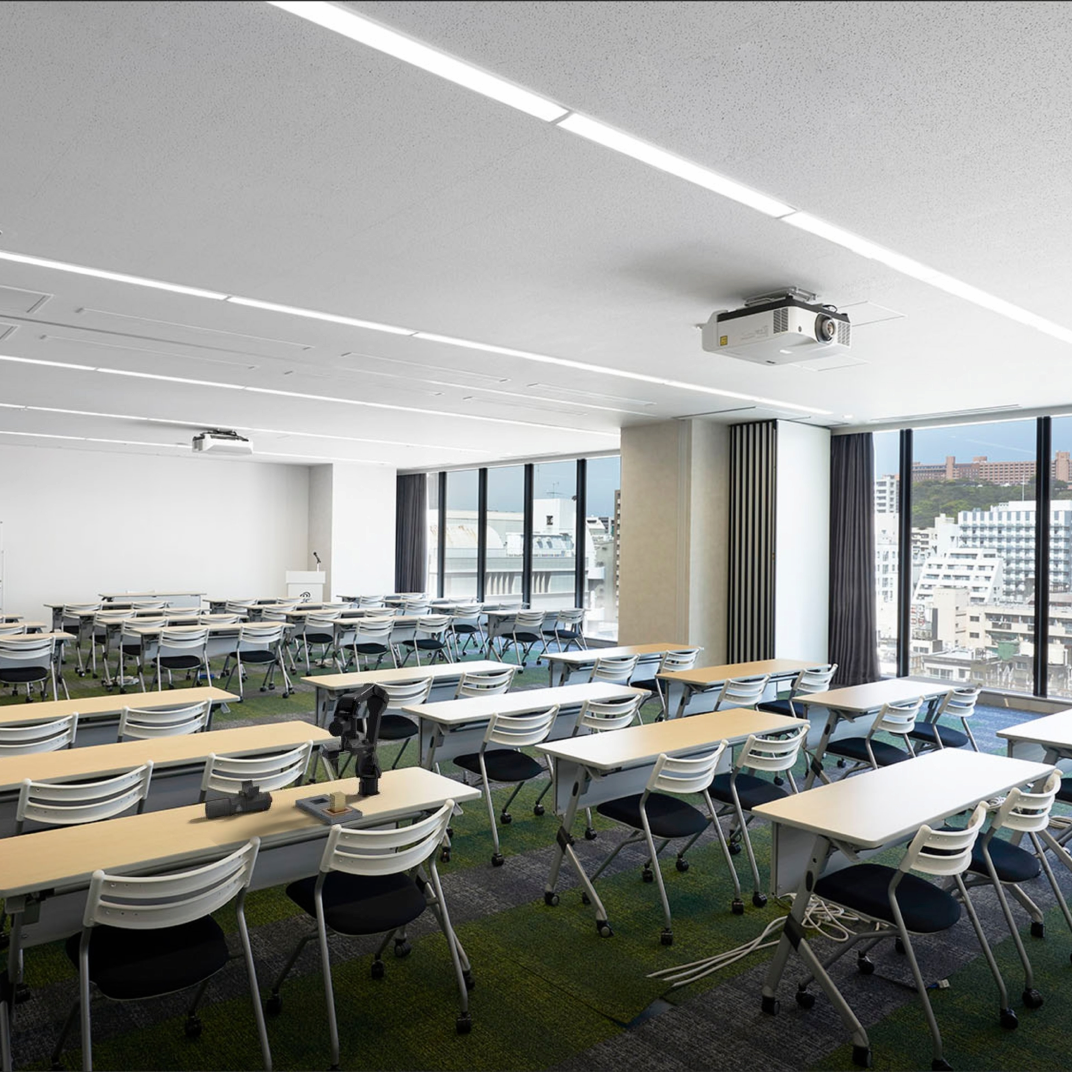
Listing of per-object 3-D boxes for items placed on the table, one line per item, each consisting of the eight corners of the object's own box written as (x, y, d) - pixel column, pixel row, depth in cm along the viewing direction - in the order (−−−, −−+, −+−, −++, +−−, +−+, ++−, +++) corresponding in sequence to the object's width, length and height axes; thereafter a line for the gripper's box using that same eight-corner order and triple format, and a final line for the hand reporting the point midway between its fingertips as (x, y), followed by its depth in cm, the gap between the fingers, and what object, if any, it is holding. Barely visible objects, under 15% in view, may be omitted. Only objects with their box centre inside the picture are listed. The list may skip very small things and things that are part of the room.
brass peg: (339, 813, 300) (339, 791, 300) (345, 816, 297) (345, 793, 297) (329, 816, 297) (329, 793, 297) (334, 819, 294) (334, 796, 294)
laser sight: (203, 815, 298) (203, 786, 298) (267, 804, 311) (267, 777, 311) (210, 822, 290) (210, 793, 290) (275, 811, 303) (275, 783, 303)
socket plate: (325, 799, 317) (325, 793, 317) (362, 817, 295) (362, 811, 296) (295, 805, 309) (295, 799, 309) (331, 825, 288) (331, 818, 288)
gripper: (335, 738, 295) (335, 783, 295) (382, 731, 308) (382, 774, 307) (321, 733, 304) (320, 776, 304) (367, 726, 316) (367, 767, 316)
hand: (348, 774), depth 308 cm, fingers open, 9 cm apart
